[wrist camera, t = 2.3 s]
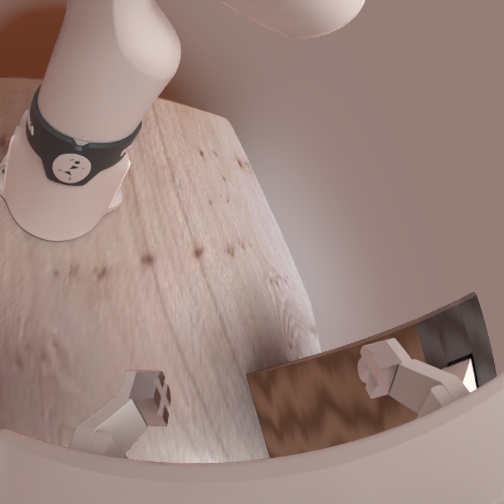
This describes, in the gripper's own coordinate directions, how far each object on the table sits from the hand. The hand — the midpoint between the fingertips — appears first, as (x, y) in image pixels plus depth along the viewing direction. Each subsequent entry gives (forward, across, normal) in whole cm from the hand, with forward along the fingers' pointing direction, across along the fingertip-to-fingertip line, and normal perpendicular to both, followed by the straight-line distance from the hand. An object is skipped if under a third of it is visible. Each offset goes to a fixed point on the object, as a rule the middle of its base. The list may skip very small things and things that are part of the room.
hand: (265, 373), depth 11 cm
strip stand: (+19, -4, +28) cm, 34 cm away
